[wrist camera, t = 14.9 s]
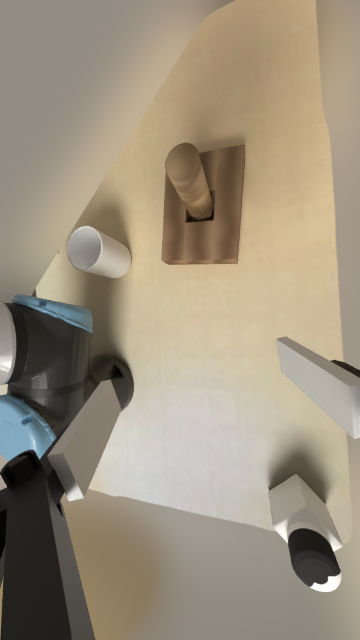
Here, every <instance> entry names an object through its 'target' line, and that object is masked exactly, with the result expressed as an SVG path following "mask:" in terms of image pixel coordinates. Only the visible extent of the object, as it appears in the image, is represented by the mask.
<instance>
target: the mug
mask: <svg viewBox="0 0 360 640" xmlns="http://www.w3.org/2000/svg"><path fill="white" fill-rule="evenodd" d="M67 253H68V258H69V260H70V262H71V264H72V265H73V266H74V267H75V268H77V269H79V270H82V271H86V272H90V273H94V274H98V275H102V276H105V277H109V278H120V277H122V276H124V275H125V274H126V273H127V272H128V270H129V268H130V265H131V255H130V252H129V250H128V249H127V247H126V246H124V245H123V244H122V243H120V242H118V241H116V240H114V239H113V238H111V237H109V236H107V235H106V234H104V233H102V232H100V231H98V230H97V229H95V228H93V227H91V226H82V227H79V228H78V229H76V230H75V231H74V232H73V233H72V235H71V237H70V239H69V241H68V246H67Z"/></svg>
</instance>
